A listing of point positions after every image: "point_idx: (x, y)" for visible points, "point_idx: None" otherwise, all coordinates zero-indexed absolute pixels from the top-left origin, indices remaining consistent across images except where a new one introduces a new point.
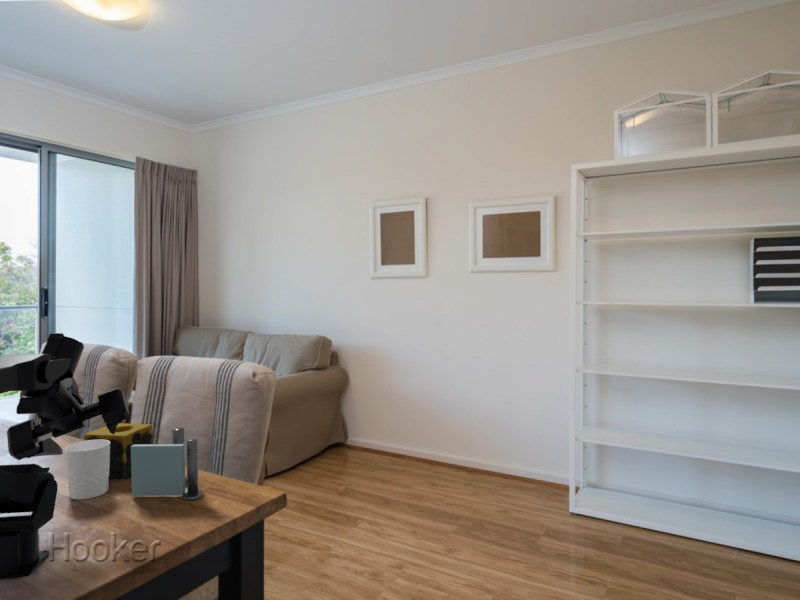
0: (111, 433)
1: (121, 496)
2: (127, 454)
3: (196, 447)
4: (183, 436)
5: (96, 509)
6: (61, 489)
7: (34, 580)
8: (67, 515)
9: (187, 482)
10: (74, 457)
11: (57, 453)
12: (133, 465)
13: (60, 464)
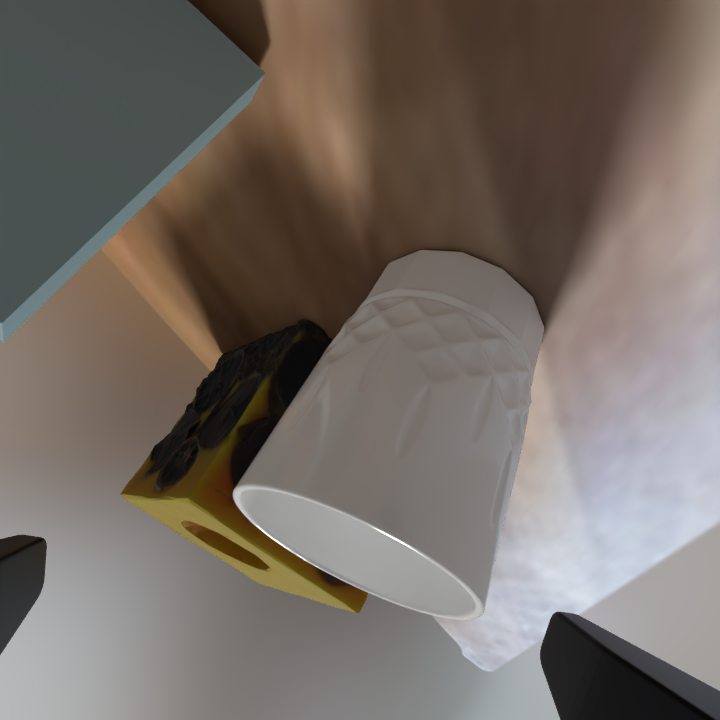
0: (4, 556)
1: (327, 150)
2: (240, 411)
3: None
4: None
5: (491, 48)
6: (533, 425)
7: None
8: (689, 99)
9: None
10: (460, 521)
11: (642, 667)
12: (112, 185)
13: None
